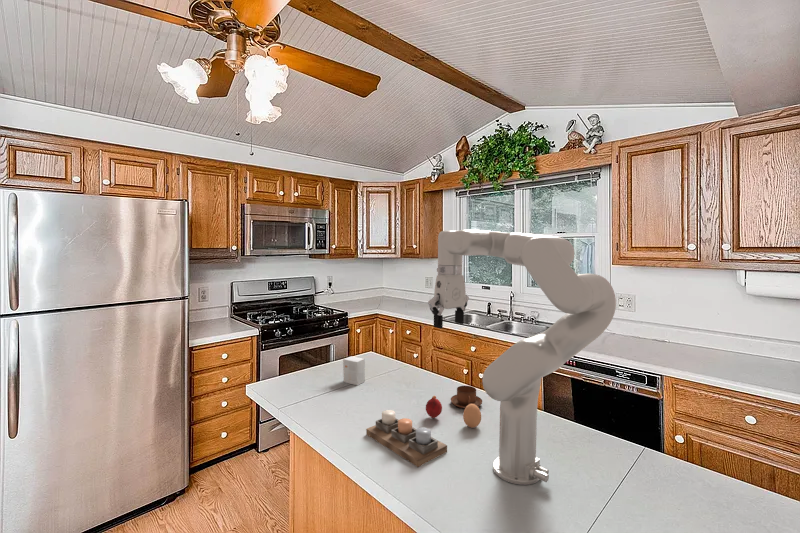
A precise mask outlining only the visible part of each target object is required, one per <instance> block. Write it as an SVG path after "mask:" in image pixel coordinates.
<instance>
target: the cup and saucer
mask: <svg viewBox="0 0 800 533" xmlns="http://www.w3.org/2000/svg"><path fill="white" fill-rule="evenodd" d="M450 402H451V403H452V404H453V406H455V407H458V408H461V409H465V408H466V406H467V405H469V404H475V405H476V406H477V407H478V408H479V407H480V406H482V404H483V399H482V398H481V397H479V396H478V395H477V389H476V388H475V387H474V386H471V385H460V386H458V387H456V394H455V395H453V396H451V397H450Z"/></svg>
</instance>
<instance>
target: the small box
mask: <svg viewBox="0 0 800 533" xmlns="http://www.w3.org/2000/svg"><path fill="white" fill-rule="evenodd" d="M342 361H343V362H342V363H343V364H342V365H343V367H342V368H343V370H342V371H343V383H346V384H351V385H354V386H359V385H361V384H362V383H365V382H366V371H365V370H366V366H365V365H366V364H365V363H366V362H365V358H362V357H356V356H352V355H351V356H348V357H346V358H343V359H342Z"/></svg>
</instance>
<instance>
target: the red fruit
mask: <svg viewBox="0 0 800 533" xmlns="http://www.w3.org/2000/svg"><path fill="white" fill-rule="evenodd" d="M442 411H443V406H442V403H441V401H440V400H439V399H437V396H436V395H433V396H432V397H431V399H429V400H428V401H427V402H426V404H425V412H426V413H427V415H428V416H429V417H430V418H432V419H436V418H437V417H439V416H440V415H441V414H442Z"/></svg>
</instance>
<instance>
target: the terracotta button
mask: <svg viewBox="0 0 800 533" xmlns="http://www.w3.org/2000/svg"><path fill="white" fill-rule="evenodd" d="M412 427H413V420H412V419H410V418H404V417H403V418H400V419H398V432H399V433H400V434H404V435H407V434H410V433H412Z"/></svg>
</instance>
